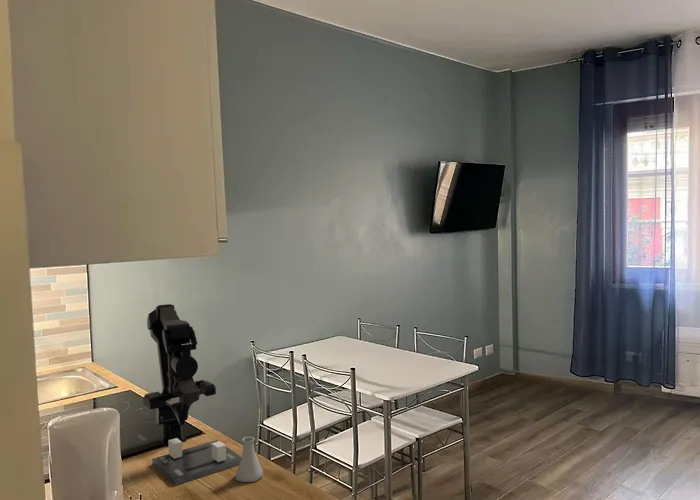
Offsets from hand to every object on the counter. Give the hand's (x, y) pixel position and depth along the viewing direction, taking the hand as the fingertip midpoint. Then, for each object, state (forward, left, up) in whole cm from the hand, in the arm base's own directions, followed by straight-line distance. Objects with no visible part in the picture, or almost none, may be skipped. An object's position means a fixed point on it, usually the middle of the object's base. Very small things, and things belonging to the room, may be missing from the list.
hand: (181, 424), depth 157 cm
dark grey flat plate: (+5, +2, -10) cm, 11 cm away
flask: (+21, +9, -10) cm, 25 cm away
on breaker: (+10, +6, -8) cm, 14 cm away
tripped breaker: (0, -2, -8) cm, 8 cm away
